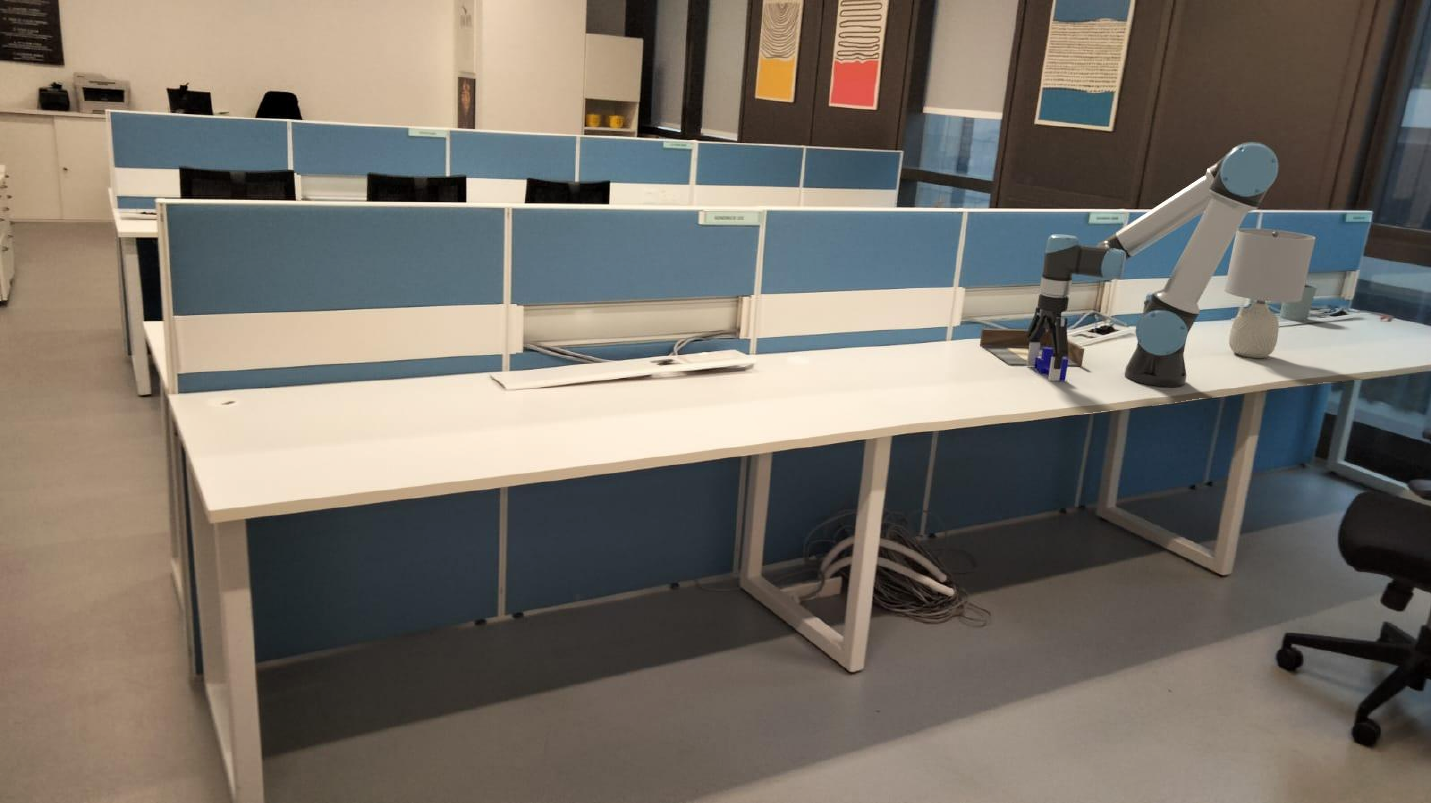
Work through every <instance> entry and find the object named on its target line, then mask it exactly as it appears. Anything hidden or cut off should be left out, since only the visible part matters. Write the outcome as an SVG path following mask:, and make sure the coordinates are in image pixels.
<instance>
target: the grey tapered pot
mask: <svg viewBox="0 0 1431 803" xmlns="http://www.w3.org/2000/svg"><path fill="white" fill-rule="evenodd" d="M1317 288H1318V287H1317V285H1313V284H1309V283H1305V286H1304V291H1303V295H1302V300H1301V301H1299V302H1281V308H1280V314H1279V317H1280V318H1281V319H1283V320H1288V321H1295V322H1307V320H1308V319H1309V315H1310V310H1311V308H1312V305H1313V301H1314V297H1315V294H1316V292H1317Z"/></svg>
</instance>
